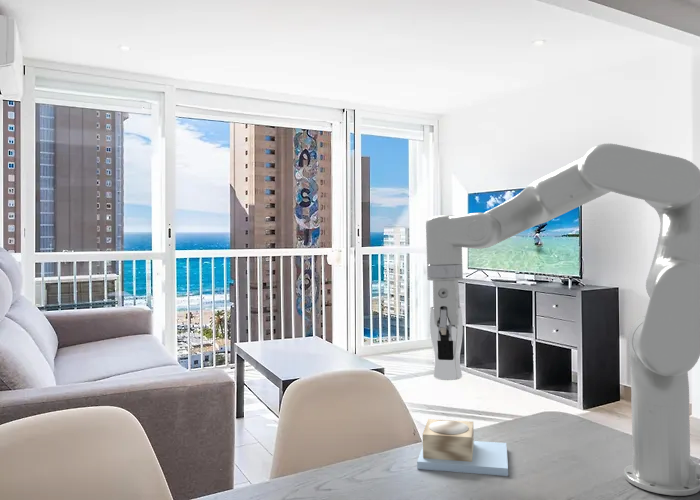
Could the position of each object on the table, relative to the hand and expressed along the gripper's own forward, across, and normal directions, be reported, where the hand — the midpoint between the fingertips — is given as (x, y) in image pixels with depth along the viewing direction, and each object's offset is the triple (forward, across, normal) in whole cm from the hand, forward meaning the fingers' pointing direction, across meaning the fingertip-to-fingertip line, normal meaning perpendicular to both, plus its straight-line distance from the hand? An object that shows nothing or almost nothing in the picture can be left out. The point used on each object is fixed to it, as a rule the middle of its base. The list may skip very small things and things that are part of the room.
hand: (447, 355), depth 116 cm
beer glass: (+5, 0, 0) cm, 5 cm away
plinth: (+21, 0, 0) cm, 21 cm away
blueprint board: (+22, 0, -3) cm, 22 cm away
